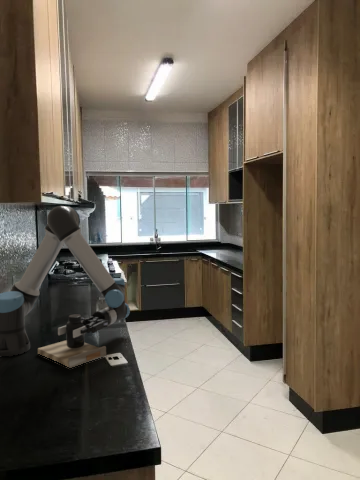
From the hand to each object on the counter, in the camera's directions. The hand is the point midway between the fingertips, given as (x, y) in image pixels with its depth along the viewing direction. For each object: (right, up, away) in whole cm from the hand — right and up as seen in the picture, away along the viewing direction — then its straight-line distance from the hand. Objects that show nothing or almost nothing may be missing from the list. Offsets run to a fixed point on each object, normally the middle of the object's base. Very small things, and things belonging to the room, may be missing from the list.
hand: (66, 332), depth 145 cm
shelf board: (0, -10, +6) cm, 12 cm away
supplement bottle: (+2, -6, +5) cm, 8 cm away
